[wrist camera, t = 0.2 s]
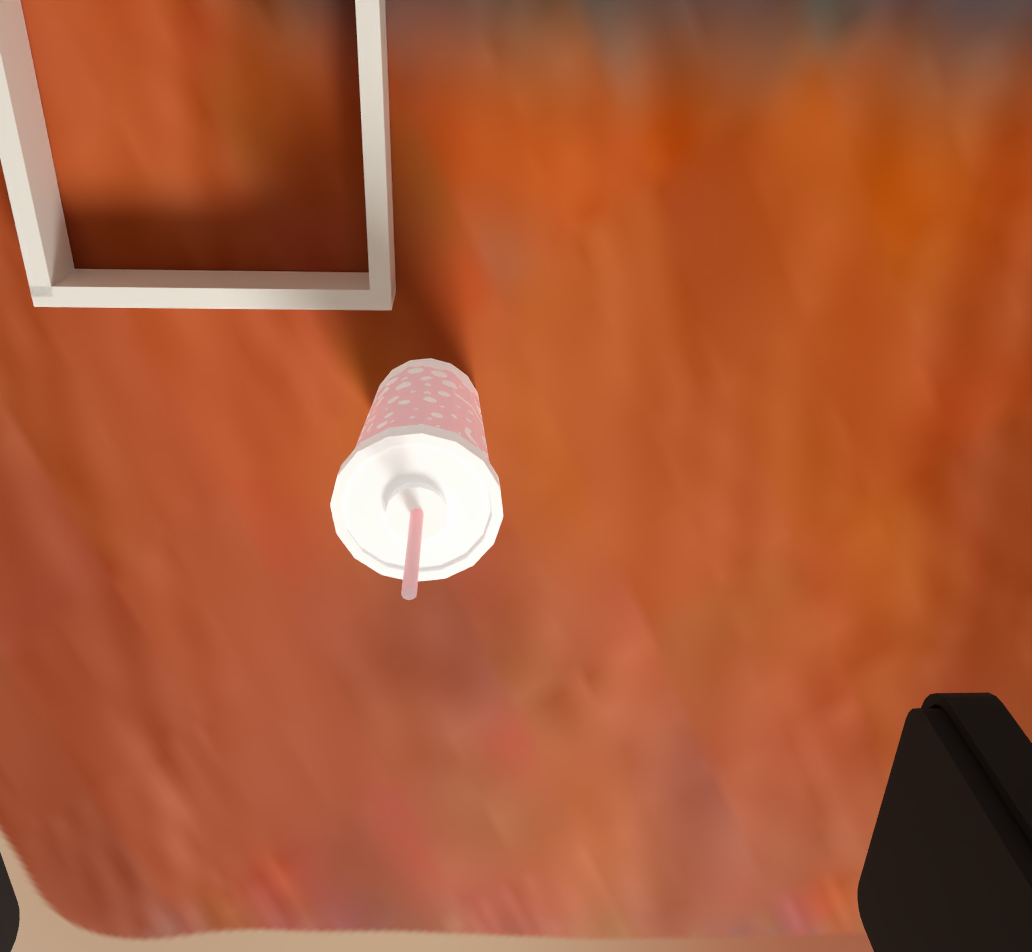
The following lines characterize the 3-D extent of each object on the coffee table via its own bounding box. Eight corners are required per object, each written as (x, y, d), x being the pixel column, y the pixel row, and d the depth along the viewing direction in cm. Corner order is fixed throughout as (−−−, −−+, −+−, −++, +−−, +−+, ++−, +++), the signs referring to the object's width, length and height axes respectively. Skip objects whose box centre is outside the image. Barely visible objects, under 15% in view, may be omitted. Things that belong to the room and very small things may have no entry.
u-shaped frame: (-23, -93, 32) (-58, -98, 29) (381, -81, 32) (375, -85, 30) (58, 288, 38) (34, 306, 36) (395, 291, 38) (391, 310, 36)
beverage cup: (490, 473, 43) (498, 676, 30) (356, 463, 42) (308, 666, 30) (503, 347, 40) (518, 514, 28) (359, 335, 39) (307, 500, 27)
